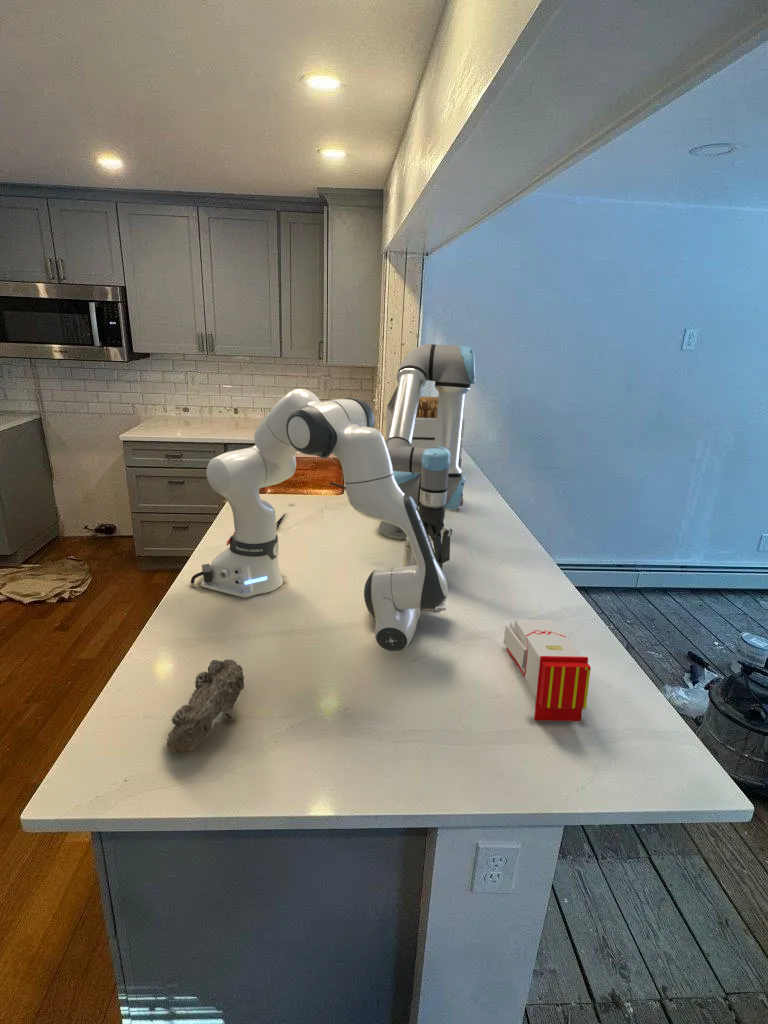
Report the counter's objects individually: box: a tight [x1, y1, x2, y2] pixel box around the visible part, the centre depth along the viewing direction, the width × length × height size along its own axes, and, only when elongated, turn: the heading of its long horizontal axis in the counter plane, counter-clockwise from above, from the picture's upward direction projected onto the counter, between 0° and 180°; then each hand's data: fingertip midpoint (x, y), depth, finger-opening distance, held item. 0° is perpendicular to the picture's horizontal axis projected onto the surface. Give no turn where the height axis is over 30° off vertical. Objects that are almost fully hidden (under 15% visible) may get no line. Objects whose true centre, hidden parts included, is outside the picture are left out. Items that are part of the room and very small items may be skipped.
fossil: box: [166, 658, 245, 754], centre depth 106 cm, size 22×10×15 cm
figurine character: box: [456, 492, 464, 511], centre depth 230 cm, size 7×8×15 cm
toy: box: [503, 618, 592, 722], centre depth 122 cm, size 12×13×30 cm
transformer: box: [384, 385, 465, 471], centre depth 268 cm, size 34×33×41 cm
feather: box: [276, 513, 286, 531], centre depth 210 cm, size 2×28×2 cm
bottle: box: [402, 537, 417, 567], centre depth 150 cm, size 5×5×19 cm
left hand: (411, 581), depth 152 cm, fingers closed on bottle, 5 cm apart
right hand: (426, 577), depth 168 cm, fingers closed on lid, 6 cm apart
